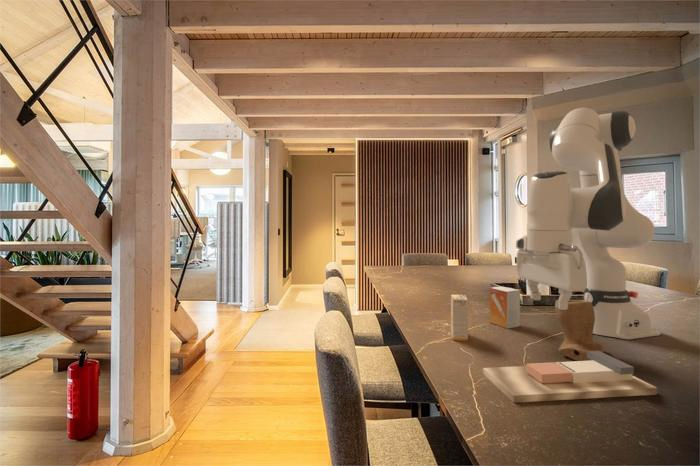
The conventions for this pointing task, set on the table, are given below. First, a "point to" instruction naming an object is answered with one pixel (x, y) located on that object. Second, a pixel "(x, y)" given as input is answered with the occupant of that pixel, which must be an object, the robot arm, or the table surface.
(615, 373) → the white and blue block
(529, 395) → the holder board
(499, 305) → the small box
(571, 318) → the brown suede boot
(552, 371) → the pink flat block
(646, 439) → the table surface
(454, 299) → the supplement box
